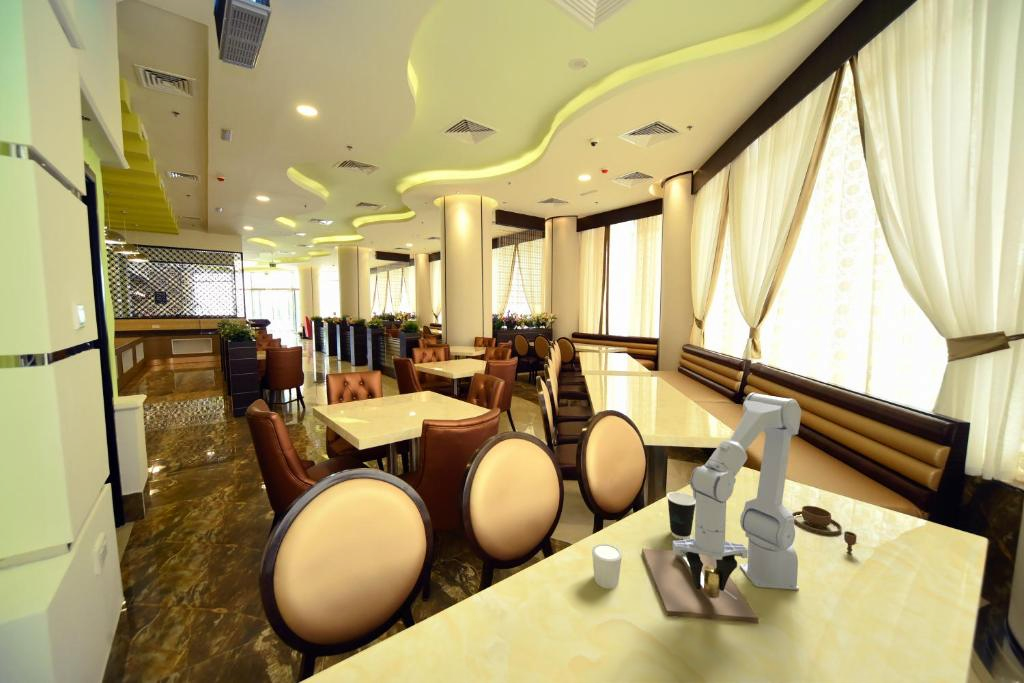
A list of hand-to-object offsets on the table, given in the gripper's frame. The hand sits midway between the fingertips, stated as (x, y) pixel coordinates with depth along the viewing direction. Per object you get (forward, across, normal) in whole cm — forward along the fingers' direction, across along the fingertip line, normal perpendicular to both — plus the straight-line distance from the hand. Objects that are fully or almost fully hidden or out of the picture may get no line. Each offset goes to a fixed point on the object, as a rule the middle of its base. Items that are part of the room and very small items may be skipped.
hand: (708, 586), depth 82 cm
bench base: (+5, 0, +8) cm, 9 cm away
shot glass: (+5, -20, +7) cm, 22 cm away
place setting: (+6, +45, +35) cm, 57 cm away
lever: (+3, 0, +8) cm, 8 cm away
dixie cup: (+5, +4, +29) cm, 30 cm away
